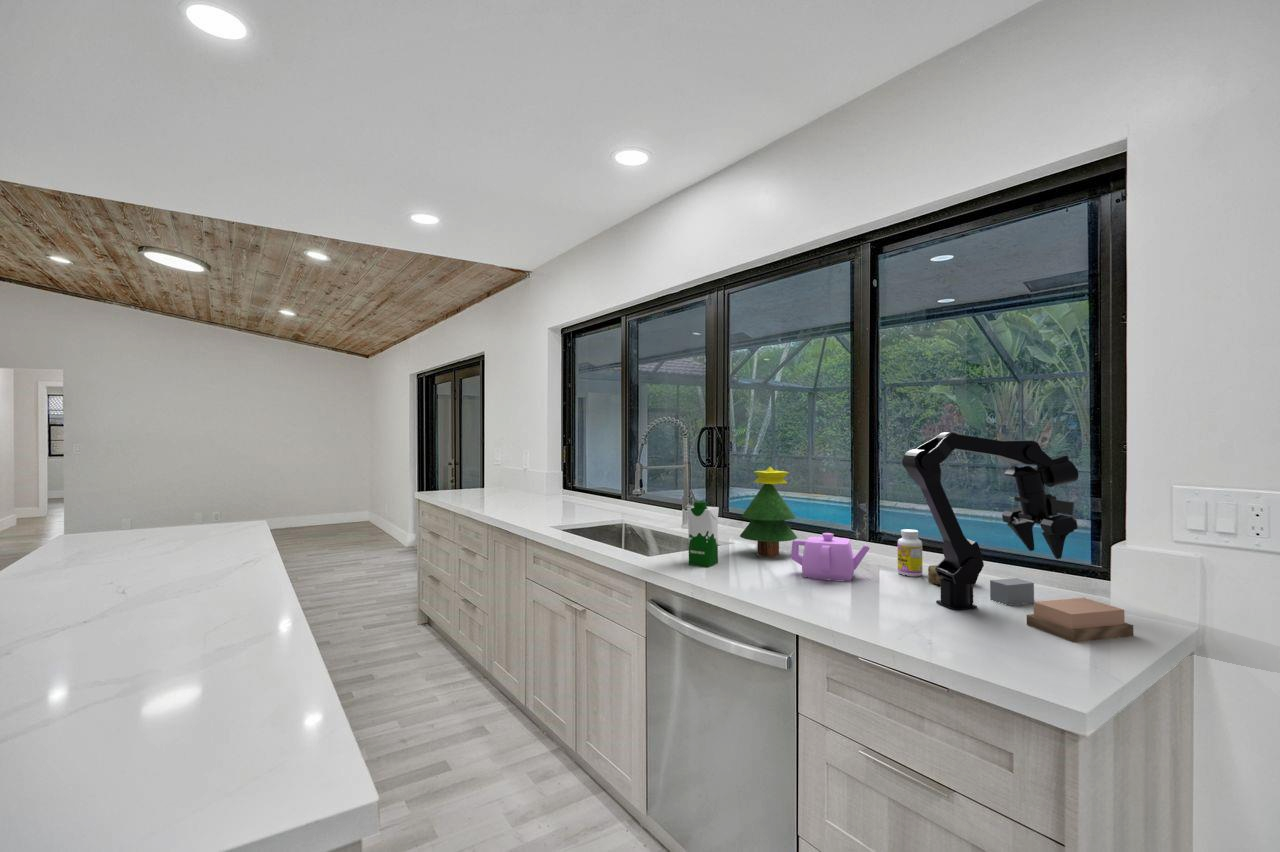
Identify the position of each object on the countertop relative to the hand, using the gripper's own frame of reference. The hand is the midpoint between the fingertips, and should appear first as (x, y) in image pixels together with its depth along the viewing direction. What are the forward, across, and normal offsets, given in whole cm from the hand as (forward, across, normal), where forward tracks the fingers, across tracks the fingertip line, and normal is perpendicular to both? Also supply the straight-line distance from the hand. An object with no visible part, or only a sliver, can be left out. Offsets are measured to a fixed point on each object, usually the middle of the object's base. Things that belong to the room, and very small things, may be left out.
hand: (1044, 554), depth 144 cm
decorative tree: (+1, +61, +54) cm, 82 cm away
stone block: (+10, +21, +14) cm, 27 cm away
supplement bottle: (+8, +31, +20) cm, 38 cm away
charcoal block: (+11, +3, +8) cm, 14 cm away
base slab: (+12, -18, +8) cm, 23 cm away
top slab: (+8, -18, +8) cm, 22 cm away
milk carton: (-3, +48, +77) cm, 91 cm away
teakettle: (+4, +32, +43) cm, 54 cm away
